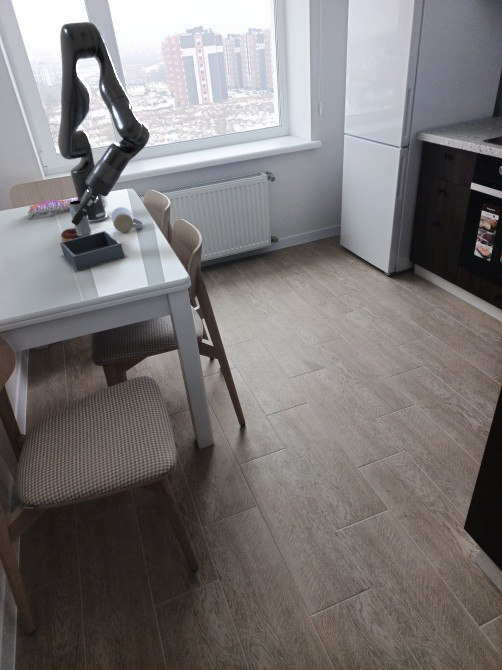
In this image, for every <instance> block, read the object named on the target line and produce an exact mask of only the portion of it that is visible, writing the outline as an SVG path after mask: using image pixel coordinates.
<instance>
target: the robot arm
mask: <svg viewBox="0 0 502 670" xmlns="http://www.w3.org/2000/svg"><path fill="white" fill-rule="evenodd" d="M59 36H60V37H59V39H60V41H59V42H60V55H61V91H60V123H59V130H58V135H57V136H58V137H57V144H58V145H57V146H58V151H59V153H60V155H61V156H62V157H63V158H64V159H65V160H68V161H69V160H77V159H80V161H79V162H78V164H77V165H75V166H74V167H73V168H72V169H70V176H71V179H72V182H73V187H74V190H75V195H76V199H77V198H78V200H82V201H81V203H80V208H79V209H78V210H77V213H76V215H75V216H74V218H72V219H71V221H70V222H71V223H72V225H74V224H75V225H78V224H79V223H80V221H81V220H82V218H83V217H86V216H88V220H89V224H93V223H100V222H102V221H104V220H106V219H108V214H107V212H106V209H105V208H106V207H105V202H104V197H107V196H109V194H110V192H111V191H112V189H113V188H114V187H115V185H116V183H117V182H118V180H119V179H120V177H121V175H122V173H123V172H124V170H125V169H126V167H127V166H128V164H129V162H130V161H132V159H133V158H135V157H136V156H137V155H138V154H139V153H140V152H141V151H142V150H143V149H144V148H145V147H146V145H147V144H148V143H149V141H150V136H151V133H150V129H149V126H147V124H146V123H144V122H143V121H141V120H139V119H138V118H137V117H136V115H135V114H134V112H133V110H134V106H133V103H132V101H131V99H130V98H129V96H128V94H127V92H126V91H125V89H124V87H123V85H122V83H121V81H120V79H119V77H118V75H117V72H116V69H115V67H114V63H113V62H112V58H111V56H110V53H109V51H108V49H107V45H106V43H105V41H104V39H103V35H102V33H101V32H100V30H99V28H98V27H97V26H96V24H94V22H90V21H83V22H81V21H79V22H69V23H64V24H63V25H62V26H61V29H60V35H59ZM87 59H95V60H96V62H97V64H98V66H99V81H98V91H99V95H100V97H101V99H102V101H103V102H104V105H105V106H106V108H107V110H108V112H109V114H110V115H111V119H112V122H113V125H114V127H115V130H116V131H117V134H118V135H119V136H120V137H121V140H120V141H119V142H112V143H111V144H110V145H108V147H107V148H106V150H105V152H104V153H103V154H102V156H101V158H100V159H99V160H98V161H97V162H95V160H94V158H95V157H94V153H93V148H92V144H91V143H92V142H91V140H90V138H89V135H88V133H87V132H86V131H84V130H82V129H81V130H78V128H79V127H80V126H81V125H82V123H83V122H84V121H85V120H86V118H87V116H88V115H89V113H90V109H91V100H92V94H91V93H92V92H91V89H90V87H89V85H88V84H87V82H86V81H85V79H84V78H83V76H82V75H81V73H80V72H79V70H78V63H79V61H80V60H87ZM83 203H84V204H83ZM83 208H84V209H85V210H86V211H85V212H84V211H83V210H82V209H83ZM75 225H74V226H75Z"/></svg>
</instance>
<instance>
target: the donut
mask: <svg viewBox="0 0 502 670" xmlns="http://www.w3.org/2000/svg"><path fill="white" fill-rule="evenodd" d="M60 236H61V237H60V238H61V240H62V241H61V242H64V241H68V240H72V239H76V238H80V237H83V236H78V235H77V232H76V228H75V227H73V228H66V229H65V230H63V231H62V232H61V234H60Z"/></svg>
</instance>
